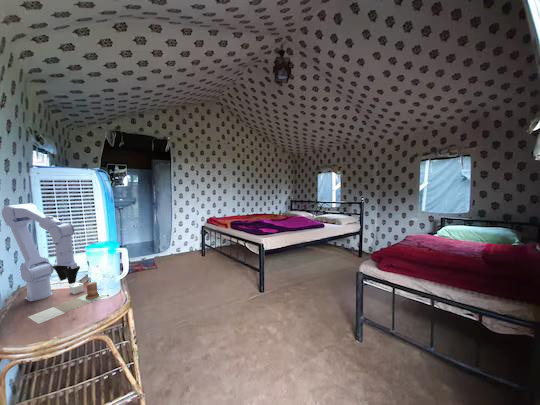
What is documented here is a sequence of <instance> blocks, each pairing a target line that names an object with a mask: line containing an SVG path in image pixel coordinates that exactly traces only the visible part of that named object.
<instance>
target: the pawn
mask: <svg viewBox="0 0 540 405" xmlns="http://www.w3.org/2000/svg"><path fill="white" fill-rule="evenodd" d="M85 285H86V292H87V293H86V294H87V295H86V294H85V295H86V299H93V298H96V297H98V296H99V294H98V291H99V290H98V282H97V281H93V282H89V283H87V284H85ZM97 290H98V291H97Z"/></svg>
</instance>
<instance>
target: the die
mask: <svg viewBox="0 0 540 405" xmlns="http://www.w3.org/2000/svg"><path fill="white" fill-rule="evenodd" d="M69 292H70V294H72V295H77V294H80V293H82V292H85V285H84V283H81V282H77V283H76V282H75V283H72V284H69Z"/></svg>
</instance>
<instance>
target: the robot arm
mask: <svg viewBox="0 0 540 405" xmlns="http://www.w3.org/2000/svg"><path fill="white" fill-rule="evenodd" d="M1 217H2V218H3V221H4V223H5V225H6V226H8V227H9V229H10V230H11V233H12V235H13V236H14V238H15V241H16V243H17V245H18V248H19V250H20V252H21V254H22V257H23V259H24V262H23V264H22V265H21V266H20V268H19V270H20V273H21V274H20V277H21V279H22V280H23V281H24V282H26V293H27V296H26V297H25V300H27V301H29V302H33V301H39V300H44V299H46V298H48V297H50V296H52V295H53V294H54V293H53V292H52V288H51V287H52V286H51V277H52V274H53V273H54V271H55V273H57V274H56V275H57V276H58V279H59V281H62V282H63V281H65V280H66V281H67V283H68V284H69V285H73V284H76V280H77V275H78V273H79V270H80V269H81V266H79V265H78V263H77V262H76V260H75V259H74V257H75V256H74V249H73V239H72V236H73V235H74V234H75V227H74V225H73V224H72V223H70V222H62V220H61V221H60V220H59V219H58V218H56V217H54V216H53V215H45V214H43V213H42V212H41V211H40V210H38V207H37V205H35V204H34V203H32V202H28V203H21V204H12V205H9V204H8V205H4V206H3V207H2V210H1ZM33 221H34V222H36V223H38V225H39V227H40V228H42V229H44V230H45V231H47V232H49V235H50V237H51V238H52V242H53V243H54V248H55V256H56V258H55V259H54V263H53V264H52V263H51V261H50V259H49V258H47V257H43V256H41V254H40V252H39V250H38V248H37V246H36V243H35V241H34V239H33V237H32V234H31V232H30V230H29V228H28V224H30V223H31V222H33Z"/></svg>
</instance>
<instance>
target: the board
mask: <svg viewBox="0 0 540 405" xmlns="http://www.w3.org/2000/svg"><path fill="white" fill-rule="evenodd" d="M106 294H107V295H101V296H98V297H96V298H93V299H86V295H87V293H86V294H83V295H81V296H79V297H78V296H77V297H76V298H73V299H71V300H68V301H65V302H63V303H59V304H57V305H55V306H52V307H50V308H47V309H44V310H42V311H39V312H37V313H35V314H31V315H29V316H27V318H28V319H30V320H32V321H33V322H35V323H36V324H38V325H39V324H42V323H45V322H47V321H49V320H51V319H54V318H57V317H59V316H61V315H63V314H66V313H69V312H71V311H73V310H76V309H79V308H80V307H81V308H82V306H86V305H88V304H89V303H93V302H94V301H97V300H100V299H102V298H104V297H109V296H110V294H108V293H106Z"/></svg>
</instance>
